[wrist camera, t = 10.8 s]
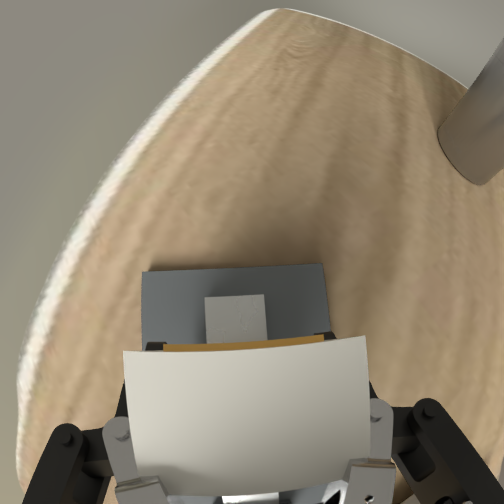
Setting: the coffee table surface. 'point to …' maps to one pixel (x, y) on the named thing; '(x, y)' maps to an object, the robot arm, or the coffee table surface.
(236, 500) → the rail
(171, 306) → the rail board
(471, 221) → the coffee table surface
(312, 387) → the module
